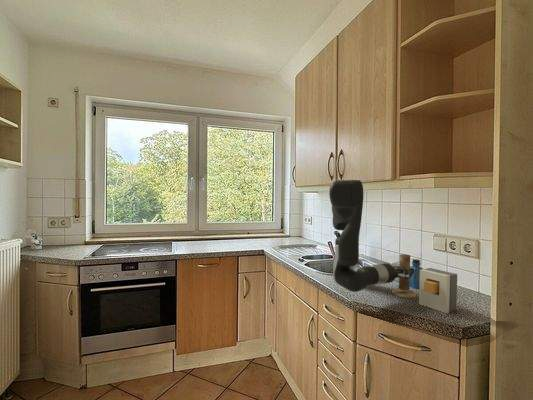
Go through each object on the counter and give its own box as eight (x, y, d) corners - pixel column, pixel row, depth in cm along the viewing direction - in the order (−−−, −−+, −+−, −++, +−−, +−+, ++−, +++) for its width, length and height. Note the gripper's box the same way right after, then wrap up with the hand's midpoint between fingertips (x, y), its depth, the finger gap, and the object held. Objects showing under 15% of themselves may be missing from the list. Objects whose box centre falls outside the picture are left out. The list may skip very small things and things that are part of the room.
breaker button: (423, 290, 109) (424, 281, 109) (430, 289, 111) (430, 280, 111) (432, 293, 106) (433, 284, 106) (439, 292, 108) (439, 282, 108)
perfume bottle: (417, 284, 139) (417, 258, 139) (426, 288, 133) (427, 261, 133) (405, 284, 138) (405, 258, 138) (413, 288, 132) (414, 261, 132)
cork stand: (387, 292, 126) (387, 290, 126) (401, 289, 130) (401, 287, 130) (406, 299, 118) (406, 296, 118) (420, 296, 122) (421, 293, 122)
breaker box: (419, 304, 113) (419, 269, 113) (429, 301, 116) (430, 267, 116) (445, 313, 104) (446, 276, 104) (456, 310, 107) (457, 274, 107)
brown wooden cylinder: (396, 288, 125) (397, 254, 124) (402, 287, 127) (403, 253, 126) (405, 291, 121) (406, 256, 121) (411, 289, 123) (412, 255, 123)
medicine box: (400, 282, 142) (400, 264, 142) (391, 280, 145) (392, 262, 145) (409, 279, 146) (409, 262, 146) (400, 277, 150) (401, 260, 150)
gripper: (396, 268, 110) (424, 264, 119) (365, 260, 123) (393, 257, 131) (395, 288, 110) (424, 283, 119) (365, 279, 123) (393, 274, 131)
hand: (408, 269), depth 125 cm, fingers closed on brown wooden cylinder, 4 cm apart
